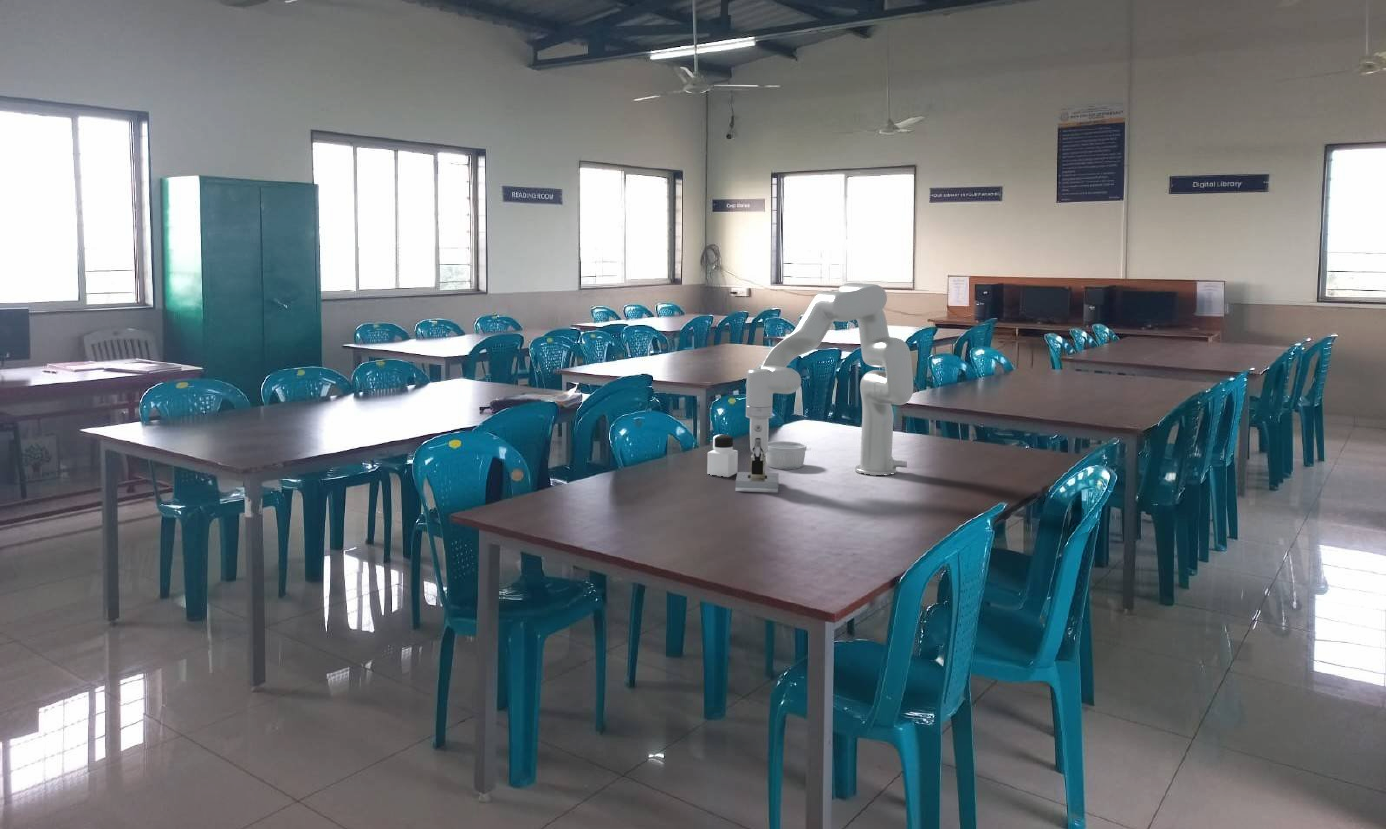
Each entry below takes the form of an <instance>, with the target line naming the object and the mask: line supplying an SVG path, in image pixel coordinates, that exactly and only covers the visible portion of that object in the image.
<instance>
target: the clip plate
mask: <svg viewBox="0 0 1386 829" xmlns="http://www.w3.org/2000/svg"><path fill="white" fill-rule="evenodd" d="M735 492H745V493H746V492H747V493H748V492H749V493H751V492H752V493H779V473H778V472H765V479H755V478H751V471H737V473H736V478H735Z"/></svg>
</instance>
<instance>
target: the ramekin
mask: <svg viewBox="0 0 1386 829" xmlns="http://www.w3.org/2000/svg"><path fill="white" fill-rule="evenodd" d="M806 451H807V444H805V443H801V442H798V441H789V440H787V441H786V440H785V441H784V440H777V441H776V440H775V441H768V452H767V453H765V463H766V464H767V466H768V467H770V468H771V469H772V468H773V469H777V470H796V469H800V468H802V466H804V462H805V457H806Z"/></svg>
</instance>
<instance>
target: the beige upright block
mask: <svg viewBox="0 0 1386 829" xmlns="http://www.w3.org/2000/svg"><path fill="white" fill-rule="evenodd" d="M760 459H761V456H760ZM752 460H753V454H751V457H750V472H751V478H755V479H765V473H766V455H764V456H762V461H763V474H762V475H753V474H752Z"/></svg>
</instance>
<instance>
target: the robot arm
mask: <svg viewBox="0 0 1386 829" xmlns="http://www.w3.org/2000/svg"><path fill="white" fill-rule="evenodd" d="M887 301H888V296H887V292H886V290H885V289H884V288H883V287H882V286H880V285H878V284H874V283H861V282H849V283H848V282H847V283H844V284H842V285H840V286H839V288H838V289H837V291H832V290H831V291H830V290H825V291H823V290H822V291H820V292H818V293H817V294H816V295H814V297H813V298H812V300H811V301H810V303H809V305H808V307H807V308H806V310H805V312H804V314H803V315H802V316H801V318H800V320H799V322H798V324H797V325H796V326H795V328H794V330H793V331H792V332H791V333H790V334H788V335H787V336H785V337H784V338H783V339H782V340H781V341H779V343H777V344H776V345H775V346H774V347H773V348H772V349H771V350H770V351H769V353H768V354H767V356H766V357H765V359H764V361H763V362H762V364H761V366H760V368H757V367H756V368H750V369H749V370H747V372H746V384H745V386H746V389H745V390H746V392H745V394H746V395H745V397H746V398H745V417H746V418H748V419H749V445H750V453H752V455H753V460H752V474H753V475H762V474H763V461H762V456H765V454H766V453H767V452H768V442H769V432H770V431H769V429H770V428H769V426H770V424H769V419H772V418H773V395H774V394H779V395H781V394H782V395H791V394H794V393H795V392H796V391H798V390H799V389H800V387H801V384H802V378H801V375H800V373H799V372H798V371H797V370H795V369H793V368H790V367H788V365H789V364H790V363H791V362H792V361H793V360H794V359H796V358H798V357H799V356H801V355H803V354H806V353H809V352H811V351H813V350H815V349H817V348H818V347H819V346H821V345H820V344H822V342H823V341H824V340H823V339H825V337H826V335H827V333H828V332H829V330H830V328H831V327H832V325H833V323H834V322H842V323H845V322H852V321H856V323H857V326H858V332H859V333H858V334H859V340H860V349H861V350H860V351H861V352H860V353H861V357H862V361H863V362H864V363H865V364H866V365H868V366H869V367H874V368H877V369H872V370H870V371H868V372H866V373H865V374H863V376H862V378H861V380H860V385H859V390H860V397H861V398H860V399H861V407H862V409H861V410H862V412H861V413H862V414H861V416H862V418H861V420H862V421H861V436H860V438H861V441H860V461H859V462H860V464H858V465H856V466H855V467H854V470H855V472H856V473H858V474H861V473H864V474H863V475H866V474H870V475H869V476H876V475H884V474H891V473H895V474H897V468H907V467H908V461H906V460H905V461H904V460H895V459H894V457H893V437H894V434H893V433H894V420H895V418H894V417H895V416H894V411H893V406H892V405H895V406H904V405H905V404H907V403H908V402H910V400H911V399H912V396H913V394H914V375H913V365H912V363H913V362H912V355H911V350H910V348H909V346H908V344H907V343H906V342H905V341H904V339H903V340H902V339H901V338H899V337H892V336H890V335H889V330H888V322H887V318H886V313H885V312H884V309H885V307H886V304H887ZM878 368H880V369H878ZM882 369H884V370H882ZM764 453H765V454H764ZM760 456H761V459H760Z"/></svg>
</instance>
